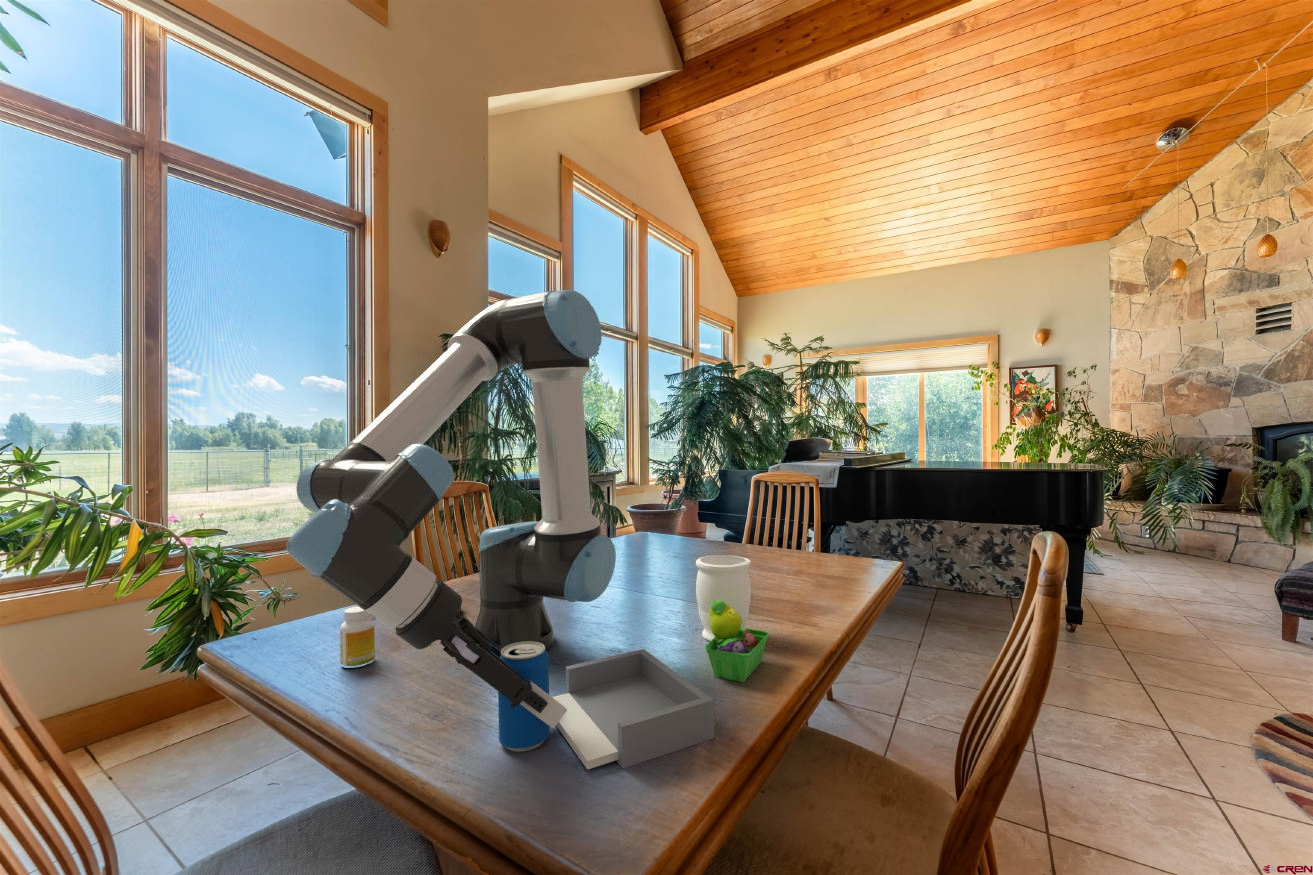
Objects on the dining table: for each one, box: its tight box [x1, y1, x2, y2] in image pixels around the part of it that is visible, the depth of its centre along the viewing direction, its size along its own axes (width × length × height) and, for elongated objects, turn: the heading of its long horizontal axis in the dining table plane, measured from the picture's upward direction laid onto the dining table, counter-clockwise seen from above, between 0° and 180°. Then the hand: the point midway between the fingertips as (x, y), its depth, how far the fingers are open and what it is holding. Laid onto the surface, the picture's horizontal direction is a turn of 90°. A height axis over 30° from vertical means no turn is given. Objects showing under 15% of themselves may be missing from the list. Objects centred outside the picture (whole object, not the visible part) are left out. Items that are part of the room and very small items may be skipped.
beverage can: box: [497, 641, 551, 753], centre depth 72 cm, size 6×6×12 cm
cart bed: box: [552, 648, 715, 770], centre depth 77 cm, size 20×17×5 cm
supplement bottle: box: [339, 605, 376, 666], centre depth 98 cm, size 5×5×10 cm
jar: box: [695, 554, 752, 642], centre depth 108 cm, size 11×10×15 cm
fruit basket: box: [705, 600, 770, 683], centre depth 93 cm, size 11×9×11 cm
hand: (550, 706), depth 74 cm, fingers closed on beverage can, 6 cm apart
